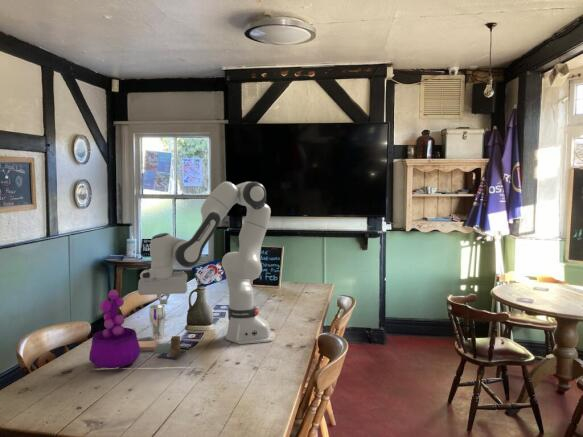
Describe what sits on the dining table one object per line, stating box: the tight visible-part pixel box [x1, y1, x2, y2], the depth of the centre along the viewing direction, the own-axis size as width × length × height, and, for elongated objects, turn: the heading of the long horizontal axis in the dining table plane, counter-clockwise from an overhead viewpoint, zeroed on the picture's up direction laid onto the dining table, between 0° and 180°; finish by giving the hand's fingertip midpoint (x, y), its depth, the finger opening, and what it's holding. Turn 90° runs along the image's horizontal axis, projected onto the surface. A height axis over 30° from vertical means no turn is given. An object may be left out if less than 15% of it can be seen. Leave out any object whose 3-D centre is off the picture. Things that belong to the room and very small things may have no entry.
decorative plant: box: [88, 289, 141, 369], centre depth 188 cm, size 19×19×30 cm
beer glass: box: [148, 304, 166, 341], centre depth 218 cm, size 7×7×15 cm
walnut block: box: [170, 335, 181, 358], centre depth 198 cm, size 3×3×8 cm
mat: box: [140, 342, 171, 355], centre depth 205 cm, size 18×12×1 cm, turn 93°
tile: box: [138, 340, 159, 351], centre depth 205 cm, size 2×7×9 cm
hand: (163, 304), depth 204 cm, fingers closed
